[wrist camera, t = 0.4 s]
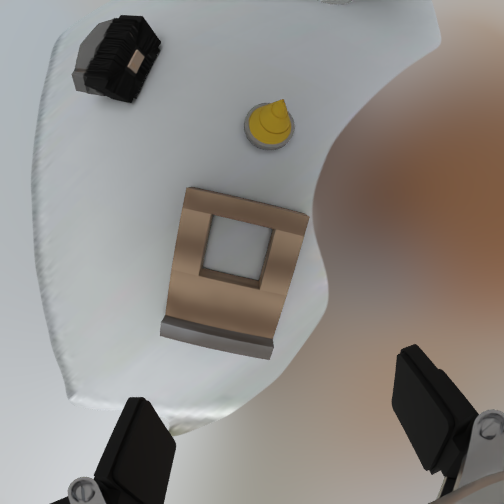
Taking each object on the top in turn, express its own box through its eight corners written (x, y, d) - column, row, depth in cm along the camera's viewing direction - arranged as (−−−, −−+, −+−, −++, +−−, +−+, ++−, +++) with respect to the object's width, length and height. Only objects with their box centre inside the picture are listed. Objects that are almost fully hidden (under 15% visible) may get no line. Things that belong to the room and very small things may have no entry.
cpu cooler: (132, 38, 27) (102, 5, 17) (167, 43, 28) (143, 6, 18) (101, 102, 29) (59, 84, 20) (135, 110, 30) (97, 90, 20)
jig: (191, 186, 33) (182, 188, 28) (304, 213, 34) (313, 219, 29) (169, 317, 37) (159, 335, 32) (267, 339, 38) (269, 359, 33)
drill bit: (233, 143, 31) (240, 108, 21) (254, 108, 31) (269, 66, 21) (274, 164, 32) (297, 138, 22) (293, 129, 32) (321, 94, 22)
